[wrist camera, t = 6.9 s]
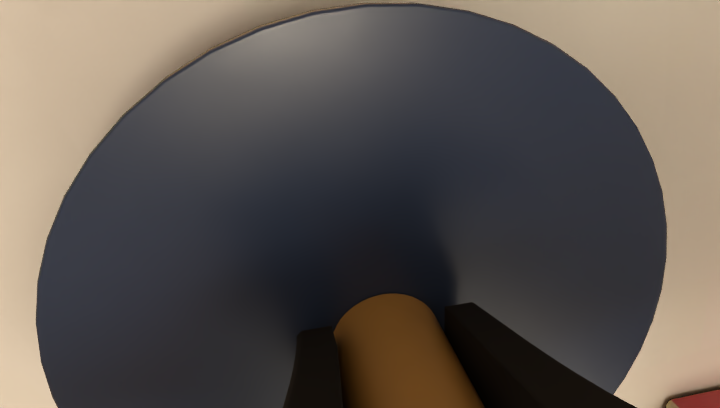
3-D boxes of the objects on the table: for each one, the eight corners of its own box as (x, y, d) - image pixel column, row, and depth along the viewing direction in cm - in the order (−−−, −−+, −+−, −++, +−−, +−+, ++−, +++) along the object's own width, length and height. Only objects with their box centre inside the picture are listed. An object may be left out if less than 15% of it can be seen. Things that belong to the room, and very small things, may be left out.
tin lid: (684, -23, 10) (963, -30, 6) (596, 453, 16) (712, 611, 12) (-56, 32, 8) (-357, 74, 4) (144, 555, 14) (98, 788, 10)
